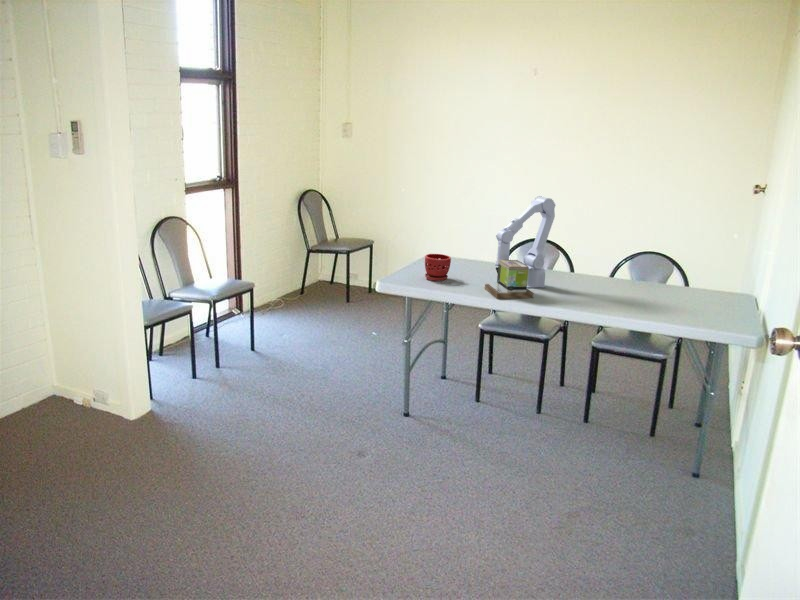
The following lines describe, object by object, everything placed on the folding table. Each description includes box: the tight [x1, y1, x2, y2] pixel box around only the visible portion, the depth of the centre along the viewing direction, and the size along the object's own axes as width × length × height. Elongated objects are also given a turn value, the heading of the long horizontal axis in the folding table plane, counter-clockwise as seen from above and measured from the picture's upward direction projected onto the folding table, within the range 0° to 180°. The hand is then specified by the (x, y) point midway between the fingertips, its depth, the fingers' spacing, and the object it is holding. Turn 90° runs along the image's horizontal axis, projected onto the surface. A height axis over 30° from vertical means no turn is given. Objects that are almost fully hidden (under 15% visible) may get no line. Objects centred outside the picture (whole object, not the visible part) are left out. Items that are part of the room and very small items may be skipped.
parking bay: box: [484, 283, 534, 300], centre depth 319 cm, size 18×18×2 cm
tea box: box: [495, 259, 529, 293], centre depth 318 cm, size 15×10×15 cm
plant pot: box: [424, 253, 452, 282], centre depth 342 cm, size 13×13×12 cm
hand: (501, 282), depth 329 cm, fingers closed
